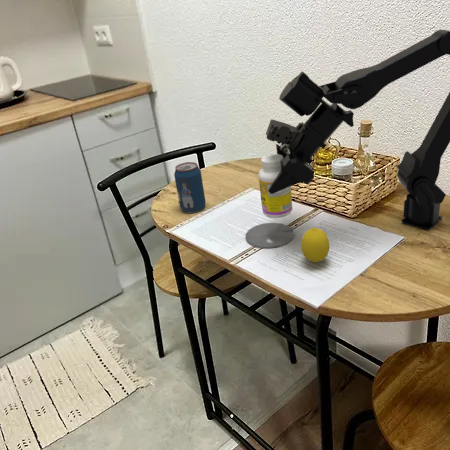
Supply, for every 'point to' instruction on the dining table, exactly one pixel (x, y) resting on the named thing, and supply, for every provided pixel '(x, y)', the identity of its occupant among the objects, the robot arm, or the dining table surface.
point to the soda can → (189, 187)
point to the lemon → (315, 245)
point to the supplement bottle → (278, 201)
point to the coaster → (269, 235)
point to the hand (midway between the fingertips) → (268, 186)
